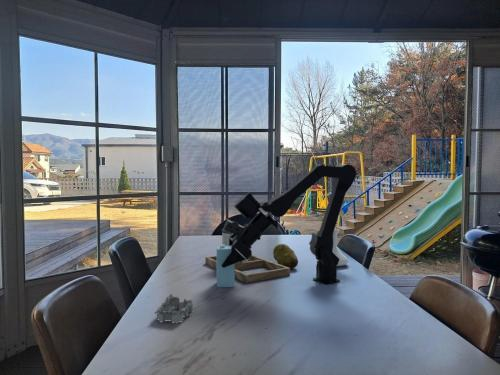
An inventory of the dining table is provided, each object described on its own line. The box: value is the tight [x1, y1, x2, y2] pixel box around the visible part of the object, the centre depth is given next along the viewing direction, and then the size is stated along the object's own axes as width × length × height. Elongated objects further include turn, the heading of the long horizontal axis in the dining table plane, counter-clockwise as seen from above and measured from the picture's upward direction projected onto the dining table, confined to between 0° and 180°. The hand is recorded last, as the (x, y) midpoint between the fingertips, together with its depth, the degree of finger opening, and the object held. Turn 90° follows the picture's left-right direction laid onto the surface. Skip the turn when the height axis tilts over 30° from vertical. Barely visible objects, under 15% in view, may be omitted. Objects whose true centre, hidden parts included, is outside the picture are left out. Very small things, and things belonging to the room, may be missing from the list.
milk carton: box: [216, 244, 236, 288], centre depth 126 cm, size 6×6×13 cm
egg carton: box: [154, 293, 195, 323], centre depth 99 cm, size 11×8×4 cm
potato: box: [272, 243, 299, 270], centre depth 149 cm, size 8×13×8 cm, turn 5°
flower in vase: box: [332, 208, 349, 267], centre depth 152 cm, size 13×11×25 cm
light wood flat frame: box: [204, 254, 291, 284], centre depth 145 cm, size 31×18×2 cm, turn 32°
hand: (221, 263), depth 126 cm, fingers open, 9 cm apart
